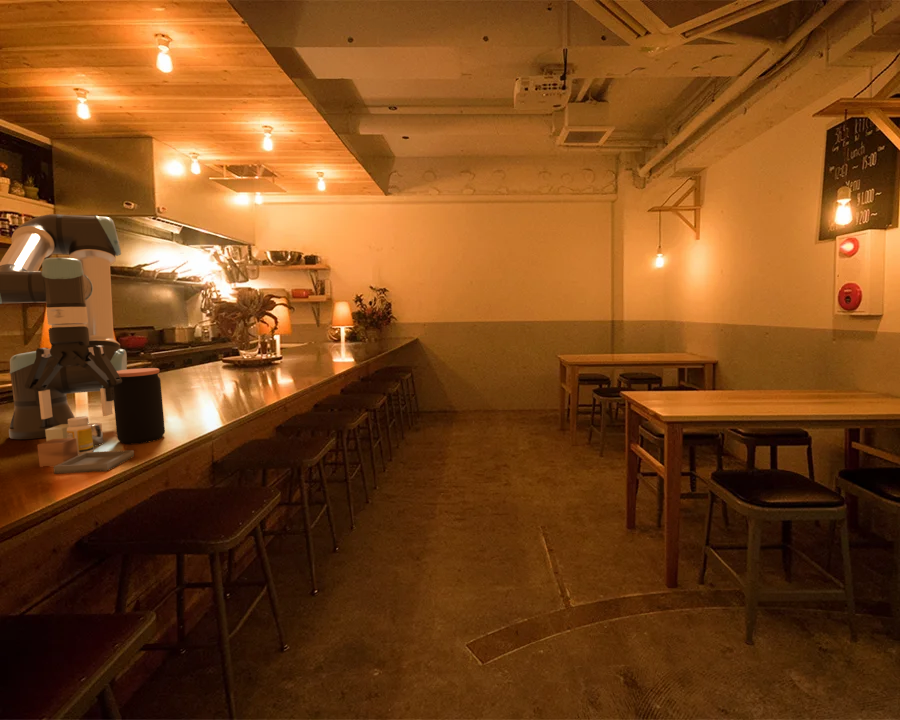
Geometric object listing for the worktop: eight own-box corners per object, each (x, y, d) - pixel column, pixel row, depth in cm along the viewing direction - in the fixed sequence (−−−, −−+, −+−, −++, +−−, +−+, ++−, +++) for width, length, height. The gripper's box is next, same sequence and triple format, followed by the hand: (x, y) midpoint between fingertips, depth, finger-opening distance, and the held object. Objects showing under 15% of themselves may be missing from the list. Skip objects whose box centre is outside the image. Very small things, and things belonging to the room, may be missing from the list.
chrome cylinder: (89, 442, 134) (87, 423, 134) (107, 441, 135) (105, 422, 134) (78, 447, 130) (76, 427, 130) (96, 446, 130) (95, 426, 130)
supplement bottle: (97, 449, 127) (93, 415, 127) (89, 454, 123) (85, 419, 122) (74, 451, 126) (70, 416, 125) (65, 456, 122) (61, 421, 121)
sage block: (63, 443, 135) (61, 424, 134) (79, 442, 135) (77, 423, 134) (47, 449, 129) (45, 429, 128) (64, 449, 129) (62, 429, 129)
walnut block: (55, 460, 119) (52, 439, 118) (78, 459, 119) (76, 437, 119) (39, 467, 114) (37, 444, 114) (64, 466, 114) (61, 443, 114)
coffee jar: (174, 434, 141) (168, 367, 139) (147, 444, 130) (141, 373, 129) (136, 434, 142) (130, 368, 140) (107, 444, 131) (100, 373, 130)
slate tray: (85, 458, 119) (84, 452, 119) (134, 456, 120) (133, 450, 120) (54, 473, 109) (53, 466, 109) (107, 470, 110) (107, 463, 109)
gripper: (-2, 328, 117) (9, 422, 119) (115, 324, 119) (124, 416, 120) (23, 327, 124) (32, 416, 126) (133, 323, 126) (140, 410, 128)
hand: (77, 416), depth 123 cm, fingers open, 13 cm apart
